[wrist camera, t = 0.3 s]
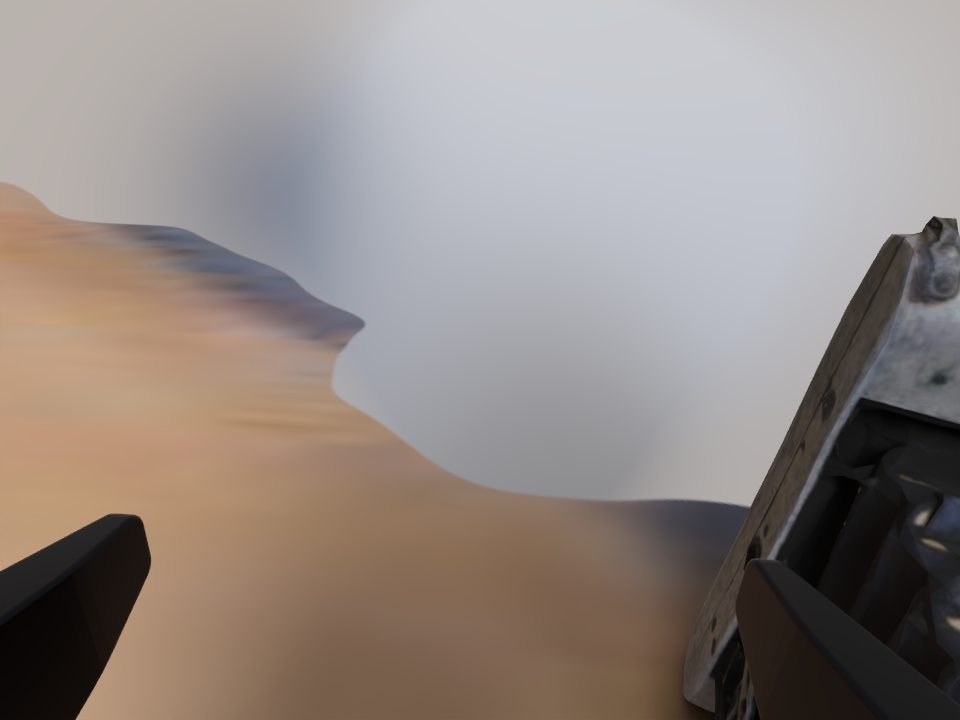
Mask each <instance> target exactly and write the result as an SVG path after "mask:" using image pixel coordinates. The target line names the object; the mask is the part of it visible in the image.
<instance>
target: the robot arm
mask: <svg viewBox="0 0 960 720" xmlns="http://www.w3.org/2000/svg"><path fill="white" fill-rule="evenodd" d="M150 566H151V554H150V550H149V546H148V542H147V537H146V533H145V529H144V524H143V521H142V520H141V518H140V517H139V516H136V515H130V514H109V515H106V516H104V517H102V518H100V519H98V520H97V521H95V522H93V523H91V524H89V525H87V526H85V527H83V528H81V529H80V530H78V531H76V532H74V533H72V534H70V535H68V536H66V537H64V538H63V539H61V540H59V541H57V542H55V543H53V544H51V545H49V546H47V547H45V548H44V549H42V550H40V551H38V552H36V553H34V554H32V555H30V556H28V557H27V558H25V559H23V560H21V561H19V562H17V563H15V564H13V565H11V566H10V567H8V568H6V569H4V570H2V571H0V720H76V718H77V716H78V715H79V713H80V711H81V709H82V708H83V706H84V704H85V703H86V701H87V699H88V697H89V696H90V694H91V692H92V691H93V689H94V687H95V685H96V683H97V682H98V680H99V678H100V676H101V674H102V673H103V671H104V669H105V667H106V665H107V663H108V661H109V659H110V657H111V654H112V652H113V650H114V648H115V646H116V644H117V641H118V639H119V637H120V635H121V633H122V630H123V628H124V626H125V624H126V622H127V620H128V617H129V615H130V613H131V611H132V609H133V606H134V604H135V602H136V600H137V598H138V596H139V593H140V591H141V589H142V587H143V585H144V582H145V580H146V578H147V576H148V573H149V570H150ZM735 611H736V618H737V622H738V626H739V631H740V635H741V639H742V643H743V648H744V652H745V656H746V660H747V665H748V669H749V673H750V677H751V682H752V686H753V690H754V694H755V699H756V703H757V707H758V711H759V714H760V718H761V720H960V705H959V704H957V703H956V702H955V701H954V700H952V699H951V698H950V697H949V696H948V695H946V694H945V693H944V692H943V691H941V690H940V689H939V688H938V687H936V686H935V685H934V684H933V683H931V682H930V681H929V680H928V679H926V678H925V677H924V676H923V675H921V674H920V673H919V672H918V671H917V670H915V669H914V668H913V667H912V666H910V665H909V664H908V663H907V662H905V661H904V660H903V659H902V658H900V657H899V656H898V655H897V654H895V653H894V652H893V651H892V650H891V649H889V648H888V647H887V646H886V645H884V644H883V643H882V642H881V641H879V640H878V639H877V638H876V637H874V636H873V635H872V634H871V633H869V632H868V631H867V630H866V629H864V628H863V627H862V626H861V625H860V624H858V623H857V622H856V621H855V620H853V619H852V618H851V617H850V616H848V615H847V614H846V613H845V612H843V611H842V610H841V609H840V608H838V607H837V606H836V605H835V604H833V603H832V602H831V601H830V600H829V599H827V598H826V597H825V596H824V595H822V594H821V593H820V592H819V591H817V590H816V589H815V588H814V587H812V586H811V585H810V584H809V583H807V582H806V581H805V580H804V579H803V578H801V577H800V576H799V575H798V574H796V573H795V572H794V571H793V570H791V569H790V568H789V567H788V566H786V565H785V564H784V563H782V562H781V561H778V560H771V559H757V558H755V559H751V560H750V561H749V562H748V563H747V566H746V568H745V571H744V575H743V578H742V581H741V584H740V587H739V591H738V594H737V597H736V602H735Z"/></svg>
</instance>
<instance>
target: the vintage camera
mask: <svg viewBox="0 0 960 720" xmlns="http://www.w3.org/2000/svg"><path fill="white" fill-rule="evenodd" d="M755 558H757V559H771V560H778V561H781V562H782V563H784V564H785V565H786V566H788V567H789V568H790V569H791V570H793V571H794V572H795V573H796V574H798V575H799V576H800V577H801V578H803V579H804V580H805V581H806V582H807V583H809V584H810V585H811V586H812V587H814V588H815V589H816V590H817V591H819V592H820V593H821V594H822V595H824V596H825V597H826V598H827V599H829V600H830V601H831V602H832V603H833V604H835V605H836V606H837V607H838V608H840V609H841V610H842V611H843V612H845V613H846V614H847V615H848V616H850V617H851V618H852V619H853V620H855V621H856V622H857V623H858V624H860V625H861V626H862V627H863V628H864V629H866V630H867V631H868V632H869V633H871V634H872V635H873V636H874V637H876V638H877V639H878V640H879V641H881V642H882V643H883V644H884V645H886V646H887V647H888V648H889V649H891V650H892V651H893V652H894V653H895V654H897V655H898V656H899V657H900V658H902V659H903V660H904V661H905V662H907V663H908V664H909V665H910V666H912V667H913V668H914V669H915V670H917V671H918V672H919V673H920V674H921V675H923V676H924V677H925V678H926V679H928V680H929V681H930V682H931V683H933V684H934V685H935V686H936V687H938V688H939V689H940V690H941V691H943V692H944V693H945V694H946V695H948V696H949V697H950V698H951V699H952V700H954V701H955V702H956V703H957V704H959V705H960V236H959V233H958V228H957V221H956V219H952V218H939V217H935V216H934V217H933V218H932V219H931V220H930V221H929V222H928V223H927V224H926V226H925V228H924V229H923V231H922V232H920V233H916V234H892V235H891V236H890V237H889V238H888V240H887V241H886V242H885V243H884V244H883V246H882V248H881V250H880V251H879V253H878V255H877V256H876V258H875V260H874V261H873V263H872V265H871V267H870V268H869V270H868V272H867V274H866V275H865V277H864V279H863V280H862V282H861V284H860V286H859V288H858V289H857V291H856V293H855V294H854V296H853V298H852V300H851V301H850V303H849V305H848V306H847V309H846V311H845V313H844V315H843V317H842V319H841V321H840V323H839V325H838V327H837V329H836V331H835V333H834V335H833V337H832V340H831V341H830V343H829V346H828V348H827V350H826V352H825V354H824V356H823V358H822V360H821V362H820V364H819V366H818V368H817V370H816V372H815V375H814V377H813V379H812V381H811V383H810V385H809V387H808V390H807V392H806V394H805V396H804V398H803V400H802V402H801V404H800V407H799V409H798V411H797V413H796V415H795V417H794V419H793V421H792V424H791V426H790V428H789V430H788V432H787V434H786V436H785V439H784V441H783V443H782V445H781V447H780V449H779V451H778V453H777V455H776V457H775V459H774V461H773V463H772V465H771V467H770V469H769V471H768V473H767V475H766V477H765V479H764V481H763V483H762V485H761V487H760V489H759V491H758V493H757V495H756V497H755V499H754V501H753V503H752V505H751V508H750V510H749V512H748V514H747V516H746V519H745V521H744V523H743V525H742V527H741V529H740V531H739V533H738V535H737V537H736V539H735V541H734V543H733V545H732V547H731V549H730V551H729V553H728V555H727V557H726V559H725V561H724V563H723V565H722V567H721V569H720V571H719V573H718V575H717V577H716V579H715V581H714V583H713V586H712V588H711V590H710V592H709V594H708V596H707V599H706V601H705V603H704V605H703V607H702V609H701V611H700V613H699V616H698V618H697V620H696V622H695V624H694V627H693V630H692V633H691V636H690V640H689V644H688V649H687V654H686V658H685V663H684V668H683V696H684V697H685V698H686V699H687V700H688V702H690V703H692V704H695V705H697V706H699V707H701V708H703V709H705V710H708V711H711V712H713V713H715V720H761V718H760V714H759V711H758V707H757V703H756V699H755V694H754V690H753V686H752V682H751V677H750V673H749V669H748V665H747V660H746V656H745V652H744V648H743V643H742V639H741V635H740V631H739V626H738V622H737V618H736V611H735V602H736V597H737V594H738V591H739V587H740V584H741V581H742V578H743V575H744V571H745V568H746V566H747V563H748V562H749V561H750V560H751V559H755Z"/></svg>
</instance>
